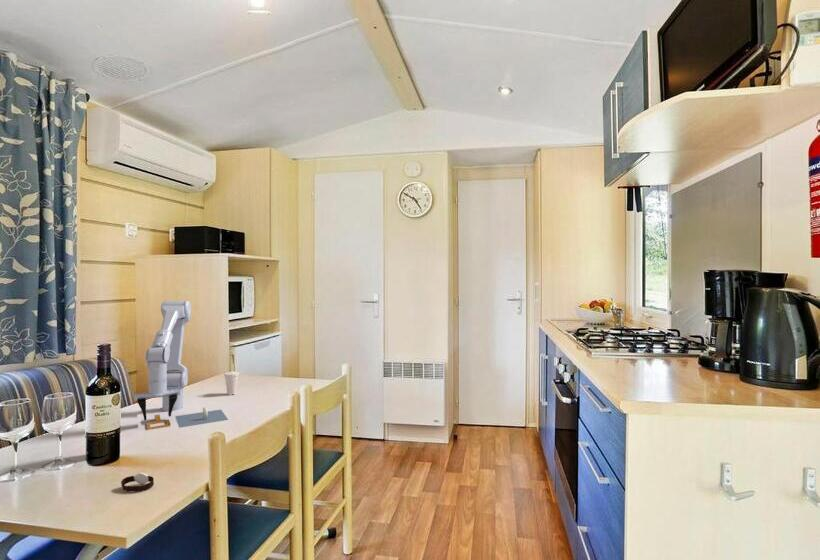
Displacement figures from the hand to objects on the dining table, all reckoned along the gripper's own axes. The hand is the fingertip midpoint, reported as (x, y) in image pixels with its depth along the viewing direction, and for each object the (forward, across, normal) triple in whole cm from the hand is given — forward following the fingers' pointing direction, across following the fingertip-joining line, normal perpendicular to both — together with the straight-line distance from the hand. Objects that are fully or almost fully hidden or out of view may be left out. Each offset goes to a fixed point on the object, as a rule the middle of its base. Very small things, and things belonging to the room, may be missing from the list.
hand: (157, 417), depth 158 cm
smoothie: (+3, +31, +30) cm, 43 cm away
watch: (+3, -7, -53) cm, 53 cm away
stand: (+2, +14, -4) cm, 15 cm away
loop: (+2, 0, -2) cm, 3 cm away
